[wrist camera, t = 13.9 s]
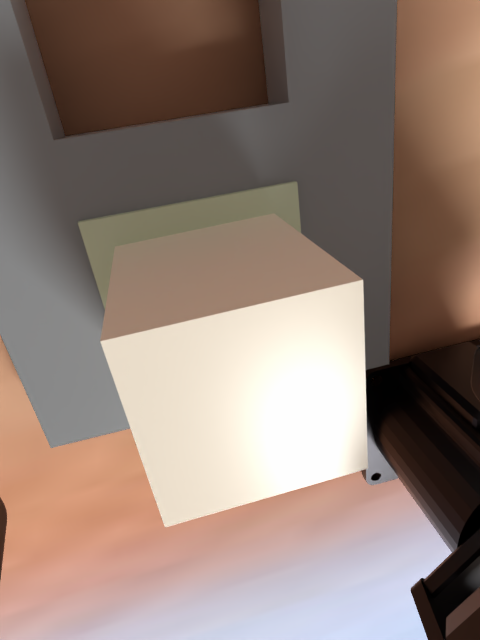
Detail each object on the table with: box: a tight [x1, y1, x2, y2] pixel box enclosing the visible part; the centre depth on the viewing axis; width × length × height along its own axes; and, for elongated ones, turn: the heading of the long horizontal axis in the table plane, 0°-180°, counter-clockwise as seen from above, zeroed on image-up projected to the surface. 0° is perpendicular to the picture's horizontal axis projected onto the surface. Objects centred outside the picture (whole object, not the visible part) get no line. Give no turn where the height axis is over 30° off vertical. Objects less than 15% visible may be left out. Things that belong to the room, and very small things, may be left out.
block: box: [100, 213, 368, 527], centre depth 11 cm, size 4×4×6 cm
